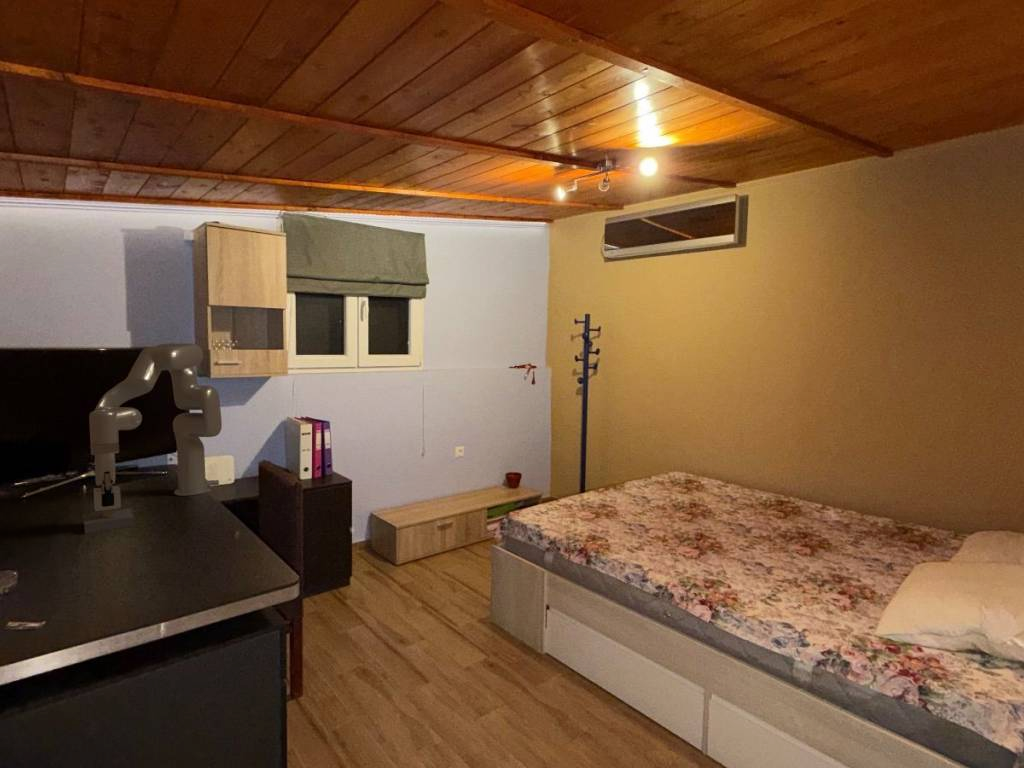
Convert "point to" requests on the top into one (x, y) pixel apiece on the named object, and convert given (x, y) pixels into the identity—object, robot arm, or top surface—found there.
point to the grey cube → (98, 499)
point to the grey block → (108, 520)
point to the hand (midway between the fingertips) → (107, 503)
